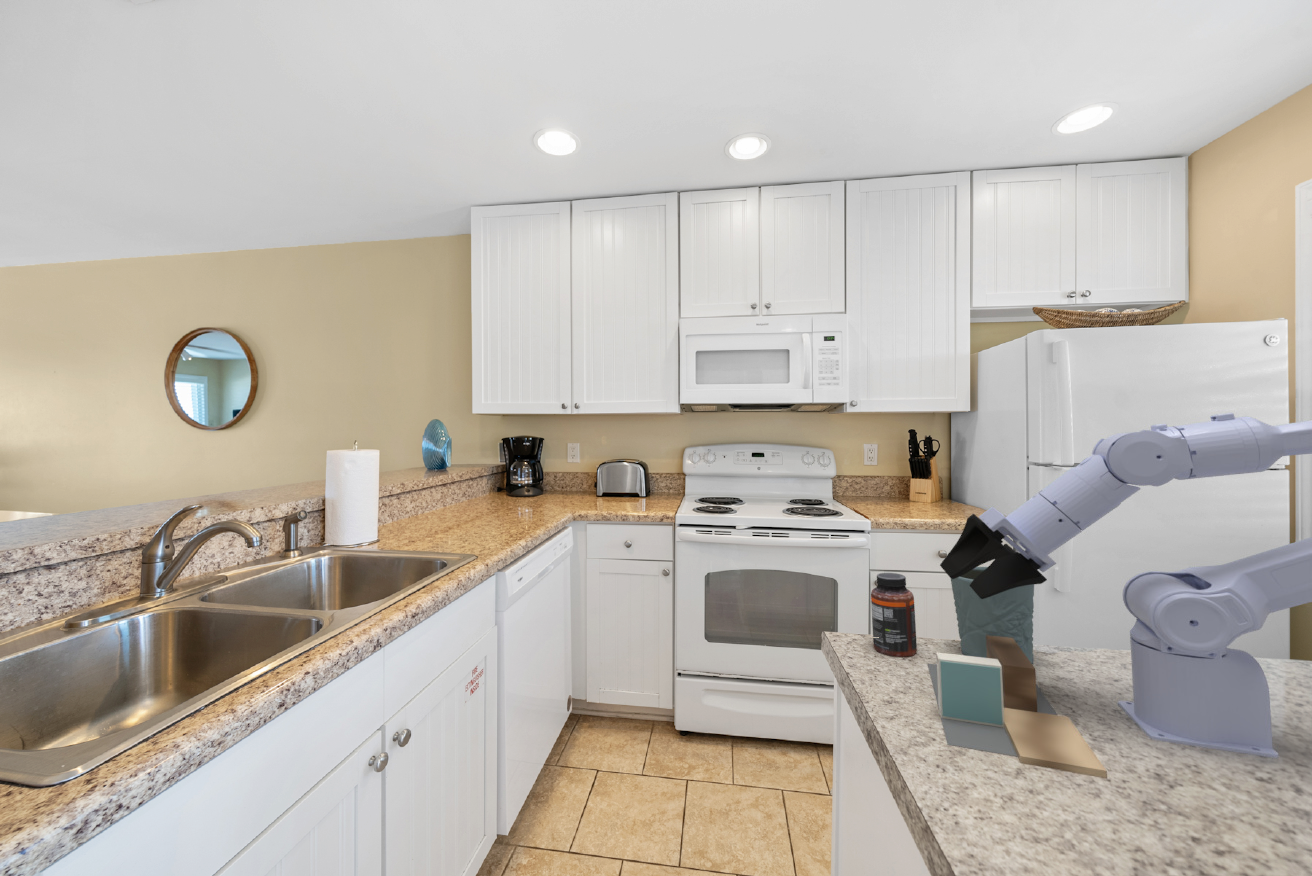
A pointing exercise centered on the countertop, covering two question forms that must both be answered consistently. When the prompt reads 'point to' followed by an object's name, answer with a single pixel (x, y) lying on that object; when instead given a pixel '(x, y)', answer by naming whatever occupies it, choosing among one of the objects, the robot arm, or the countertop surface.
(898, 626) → the supplement bottle
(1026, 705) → the brown rectangular block
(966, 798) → the countertop surface
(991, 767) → the countertop surface
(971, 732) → the mat
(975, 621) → the teal textured planter
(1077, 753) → the trivet
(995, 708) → the tile
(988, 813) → the countertop surface
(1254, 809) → the countertop surface
